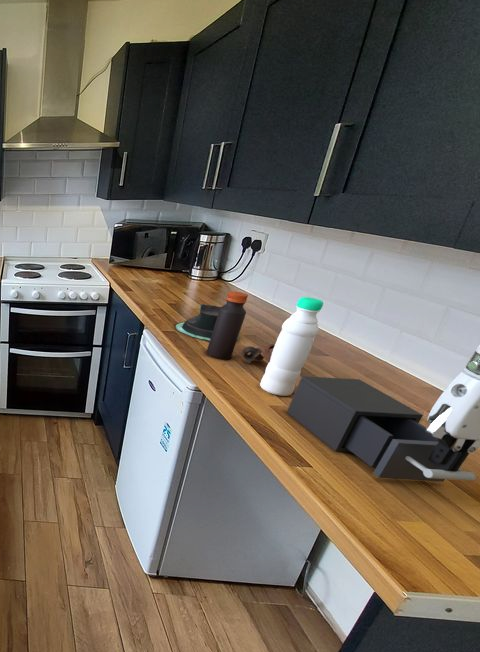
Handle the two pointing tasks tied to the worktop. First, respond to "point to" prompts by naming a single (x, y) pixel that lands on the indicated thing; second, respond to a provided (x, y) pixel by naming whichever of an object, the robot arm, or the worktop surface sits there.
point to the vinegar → (227, 326)
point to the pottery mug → (257, 353)
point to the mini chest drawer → (398, 449)
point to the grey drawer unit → (341, 407)
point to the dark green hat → (201, 323)
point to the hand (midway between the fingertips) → (441, 465)
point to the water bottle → (292, 348)
